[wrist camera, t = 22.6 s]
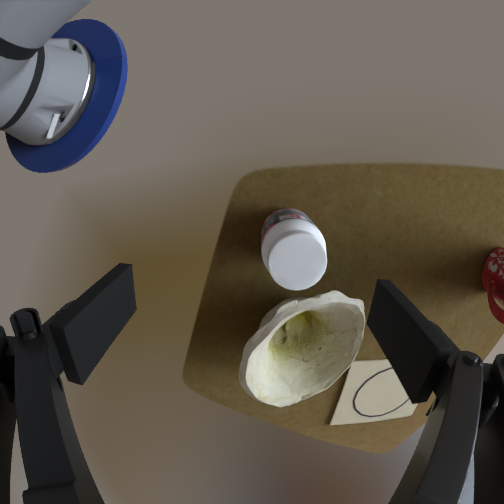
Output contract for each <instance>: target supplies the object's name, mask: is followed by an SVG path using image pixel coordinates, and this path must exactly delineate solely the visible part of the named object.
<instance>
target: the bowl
mask: <svg viewBox="0 0 504 504" xmlns="http://www.w3.org/2000/svg"><path fill="white" fill-rule="evenodd" d="M364 327H365V314H364V304H363V301H362V300H360V299H352V298H348V297H347V296H345V295H344V294H342V293H341V292H339V291H331V292H329V293H326V294H319V295H317V296H315V297H312V298H304V297H292V298H288V299H286V300H284V301H281V302H280V303H279V304H278V305H276V306H275V307H274V308H272V309H271V310H270V311H269V312H267V314H266V315H265V316H264V318H263V319H262V321H261V324H260V326H259V329H258V331H257V332H256V333H255V334H254V335H253V336H252V337H251V338H250V339H249V340H248V342H247V343H246V345H245V347H244V349H243V357H242V360H241V363H240V371H239V376H238V377H239V383H240V385H241V387H242V388H243V390H244V391H245V392H246V393H247V394H248V395H249V396H251V397H252V398H254V399H255V400H257V401H259V402H262V403H265V404H270V405H273V406H276V407H284V406H289V405H291V404H293V403H297V402H299V401H300V400H305V399H307V398H309V397H311V396H313V395H315V394H317V393H320V392H321V391H324V390H326V389H327V388H329V387H330V386H331V385H332V384H333V383H334V382H335V381H336V380H337V379H338V378H339V377H340V376H341V375H342V374H343V373H344V372H345V371H346V370H347V369H348V368H349V367H350V366H351V364H352V363H353V361H354V360H355V357H356V355H357V353H358V351H359V348H360V345H361V343H362V340H363V334H364Z"/></svg>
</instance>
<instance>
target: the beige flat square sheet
mask: <svg viewBox="0 0 504 504" xmlns="http://www.w3.org/2000/svg"><path fill="white" fill-rule="evenodd" d="M417 404H418V403H416V404H412V403H411V401H410V399H409V397H408V395H407V393H406V391H405V390H404V388H403V386H402V384H401V382H400V380H399V379H398V377H397V375H396V373H395V371H394V370H393V368H392V366H391V364H390V363H389V361H388V359H381V360H357V361H353V363H352V364H351V366H350V367H349V370H348V374H347V377H346V380H345V383H344V386H343V389H342V392H341V395H340V397H339V400H338V403H337V406H336V408H335V411H334V414H333V416H332V419H331V422H330V425H339V424H352V423H362V422H372V421H380V420H387V419H394V418H400V417H406V416H411V415H412V413H413V411H414V410H415V408H416V406H417Z"/></svg>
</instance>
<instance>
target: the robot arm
mask: <svg viewBox="0 0 504 504" xmlns="http://www.w3.org/2000/svg"><path fill="white" fill-rule="evenodd" d="M91 1H92V0H0V130H3V131H5V132H6V133H8V134H10V135H12V136H14V137H15V138H17V139H19V140H21V141H22V142H24V143H26V144H29V145H47V144H51V143H54V142H56V141H58V140H59V139H61V138H62V137H64V136H65V135H66V134H67V133H68V132H69V131H70V130H71V129H72V128H73V127H74V126H75V125H76V123H77V122H78V121H79V119H80V118H81V116H82V114H83V113H84V111H85V109H86V107H87V105H88V103H89V100H90V98H91V95H92V92H93V88H94V84H95V77H96V66H95V61H94V57H93V55H92V53H91V51H90V50H89V49H88V48H87V47H86V46H85V45H83V44H81V43H80V42H78V41H76V40H74V39H69V38H51V37H52V36H53V35H54V34H55V33H56V32H57V31H58V30H59V29H60V28H61V27H62V26H63V25H64V24H65V23H67V22H68V21H69V20H70V19H71V18H72V17H73V16H74V15H76V14H77V13H78V12H79V11H80V10H81V9H83V8H84V7H85V6H86V5H87V4H89V3H90V2H91ZM136 309H137V308H136V300H135V291H134V282H133V271H132V264H123V263H119V264H118V265H117V266H115V268H113V269H112V270H111V271H109V272H108V273H107V274H106V275H105V276H103V277H102V278H101V279H100V280H99V281H98V282H96V283H95V284H94V285H93V286H91V287H90V288H89V289H88V290H87V291H86V292H85V293H83V294H82V295H81V296H80V297H79V298H78V299H76V300H74V301H71V302H69V303H67V304H65V305H64V306H63V307H62V308H61V309H60V311H57V312H56V313H55V315H53V316H52V317H51V318H50V319H49V320H48V321H46V322H45V323H44V324H43V325H41V321H40V318H39V314H38V311H37V310H36V309H34V308H23V309H20V310H18V311H16V312H14V313H13V314H12V315H11V317H10V322H11V325H12V328H13V331H14V333H15V336H16V337H12V336H6V333H5V331H4V328H3V327H2V326H0V504H10V473H11V458H12V448H13V439H14V432H15V425H16V419H17V424H18V433H19V440H20V447H21V453H22V459H23V464H24V469H25V473H26V478H27V482H28V490H25V491H23V494H22V497H23V503H24V504H105V503H104V501H103V499H102V497H101V495H100V493H99V491H98V489H97V487H96V485H95V482H94V480H93V478H92V475H91V473H90V470H89V468H88V465H87V463H86V460H85V458H84V455H83V452H82V450H81V447H80V444H79V441H78V438H77V435H76V432H75V429H74V426H73V422H72V419H71V415H70V412H69V408H68V405H67V401H66V397H65V393H64V389H63V385H62V381H61V378H60V374H61V373H62V372H63V371H64V372H65V374H66V377H67V379H68V381H70V382H73V383H76V384H80V385H83V384H84V383H85V381H86V380H87V378H88V377H89V375H90V374H91V372H92V371H93V369H94V368H95V367H96V365H97V364H98V362H99V361H100V359H101V358H102V357H103V355H104V354H105V352H106V351H107V350H108V348H109V347H110V345H111V344H112V343H113V341H114V340H115V338H116V337H117V336H118V334H119V333H120V331H121V330H122V329H123V327H124V326H125V324H126V323H127V322H128V321H129V319H130V318H131V317H132V315H133V314H134V313H135V311H136ZM367 325H368V327H369V328H370V330H371V332H372V333H373V335H374V337H375V338H376V340H377V342H378V343H379V345H380V347H381V349H382V350H383V352H384V354H385V356H386V357H387V359H388V361H389V363H390V364H391V366H392V368H393V370H394V371H395V373H396V375H397V377H398V379H399V380H400V382H401V384H402V386H403V388H404V390H405V391H406V393H407V395H408V397H409V399H410V401H411V403H412V404H416V403H422V402H427V400H428V398H429V397H430V395H431V393H432V391H433V392H434V393H435V395H436V398H435V400H434V402H433V403H432V405H431V407H430V409H429V410H428V412H427V414H426V416H428V415H429V416H428V419H427V421H426V424H425V427H424V429H423V432H422V435H421V437H420V440H419V442H418V445H417V447H416V449H415V452H414V454H413V456H412V458H411V461H410V463H409V465H408V467H407V469H406V471H405V474H404V475H403V477H402V479H401V482H400V484H399V485H398V487H397V489H396V491H395V493H394V495H393V496H392V498H391V500H390V502H389V504H460V501H461V498H462V495H463V492H464V488H465V485H466V481H467V478H468V474H469V470H470V466H471V461H472V457H473V452H474V474H475V475H474V504H504V354H499V355H497V356H496V358H495V360H494V362H493V364H488V363H483V361H482V359H481V358H480V357H479V356H478V355H477V354H475V353H472V352H469V351H460V350H459V348H458V347H457V346H456V345H455V344H454V343H453V342H452V341H451V339H450V338H448V336H447V335H446V334H445V333H443V331H442V330H441V328H440V327H439V326H438V325H436V324H434V323H433V322H431V321H428V319H427V318H426V317H425V316H424V315H423V314H422V313H421V312H420V311H419V310H418V309H417V308H416V307H415V306H414V305H413V303H412V302H411V301H410V300H409V299H408V298H407V297H406V296H405V295H404V294H403V293H402V292H401V291H400V290H399V289H398V288H397V287H396V286H395V285H394V284H393V283H392V282H391V281H390V280H383V279H377V283H376V287H375V292H374V296H373V300H372V304H371V308H370V312H369V316H368V320H367ZM497 403H498V405H496V404H497Z"/></svg>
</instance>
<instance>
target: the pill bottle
mask: <svg viewBox="0 0 504 504" xmlns="http://www.w3.org/2000/svg"><path fill="white" fill-rule="evenodd" d="M261 254H262V259H263V262H264V265H265V267H266V268H267V270H268V271H269V272H270V275H271V277H272V278H273V279H274V281H275V282H276V283H277V284H278V285H280V286H281V287H283V288H286V289H289V290H304V289H307V288H309V287H311V286H313V285H314V284H316V283H317V282H318V281H319V280H320V279H321V277H322V276H323V274H324V272H325V270H326V266H327V255H326V244H325V240H324V238H323V235H322V234H321V232H320V231H319V229H318V228H317V227H316V226H315V225H314V223H313V222H312V221H311V220H310V219H309V218H308V216H307V215H305V214H304V213H303V212H301V211H299V210H297V209H294V208H282V209H279V210H277V211H275V212H273V213H272V214H270V215H269V216H268V218H267V219H266V220H265V222H264V224H263V227H262V232H261Z"/></svg>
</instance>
